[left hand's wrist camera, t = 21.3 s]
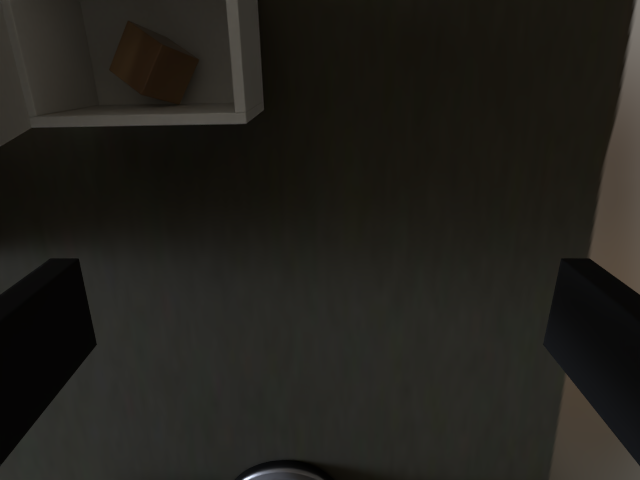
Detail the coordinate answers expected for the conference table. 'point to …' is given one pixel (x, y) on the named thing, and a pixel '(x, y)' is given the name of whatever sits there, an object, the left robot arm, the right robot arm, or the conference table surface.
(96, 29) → the chest
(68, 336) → the left robot arm
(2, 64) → the lid
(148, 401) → the conference table surface
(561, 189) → the conference table surface
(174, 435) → the conference table surface
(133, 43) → the block
